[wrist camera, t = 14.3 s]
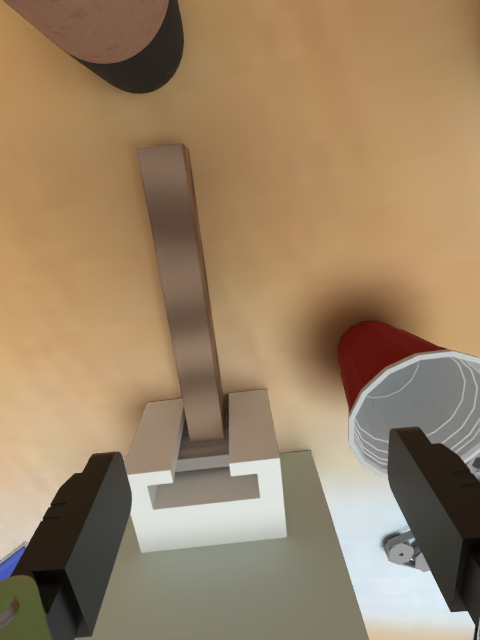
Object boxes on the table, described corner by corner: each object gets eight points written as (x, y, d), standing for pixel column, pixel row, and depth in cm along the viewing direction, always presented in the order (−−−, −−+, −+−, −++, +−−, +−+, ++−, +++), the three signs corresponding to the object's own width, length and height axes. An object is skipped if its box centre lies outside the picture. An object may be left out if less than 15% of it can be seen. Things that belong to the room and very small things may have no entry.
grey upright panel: (107, 406, 37) (-15, 631, 19) (306, 384, 37) (386, 588, 18) (128, 485, 41) (43, 742, 22) (311, 465, 41) (382, 707, 22)
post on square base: (126, 156, 30) (97, 149, 23) (213, 147, 30) (209, 136, 23) (177, 423, 38) (167, 472, 32) (245, 416, 38) (249, 464, 32)
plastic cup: (325, 411, 38) (365, 505, 27) (299, 316, 35) (333, 379, 24) (430, 381, 38) (517, 466, 26) (415, 281, 34) (508, 329, 23)
